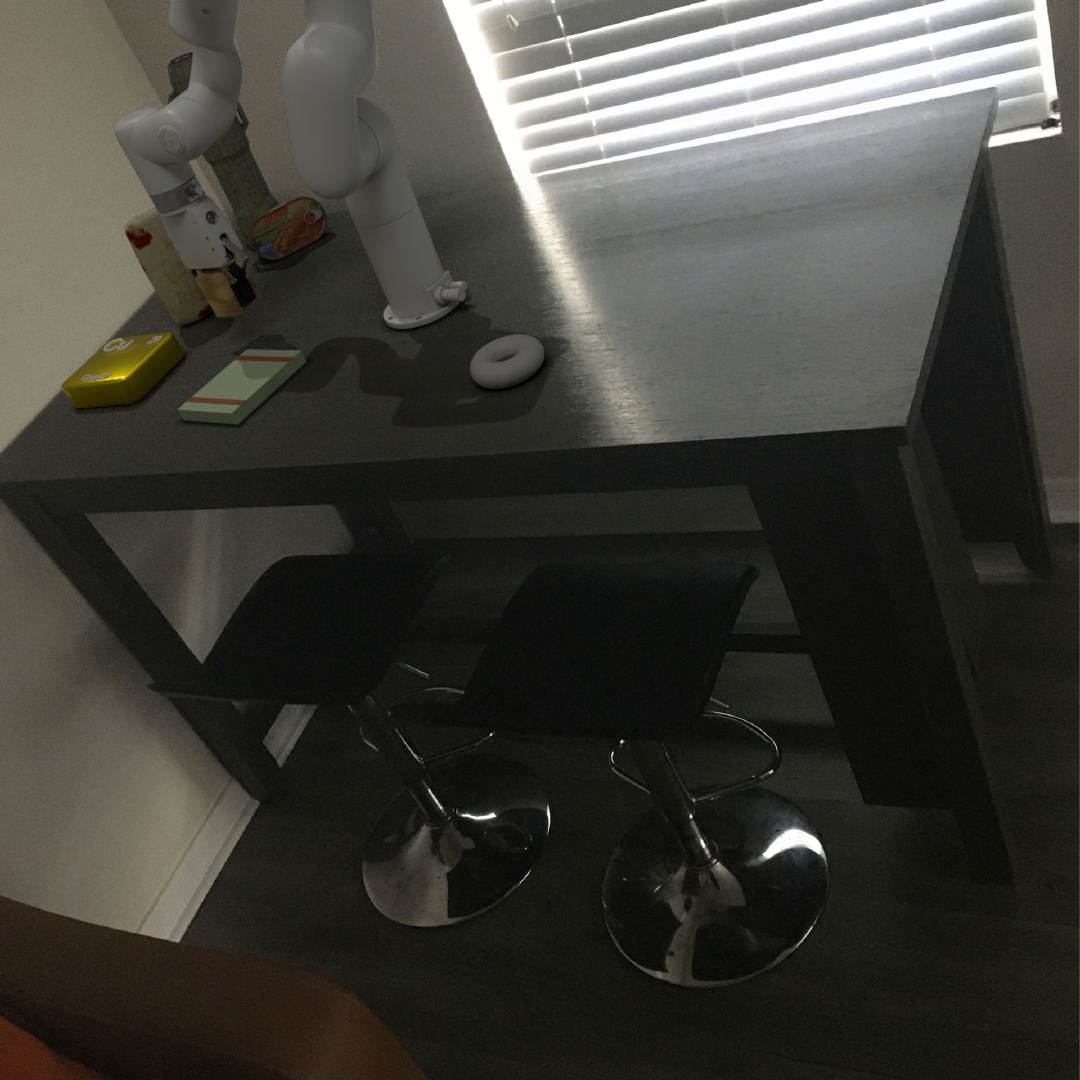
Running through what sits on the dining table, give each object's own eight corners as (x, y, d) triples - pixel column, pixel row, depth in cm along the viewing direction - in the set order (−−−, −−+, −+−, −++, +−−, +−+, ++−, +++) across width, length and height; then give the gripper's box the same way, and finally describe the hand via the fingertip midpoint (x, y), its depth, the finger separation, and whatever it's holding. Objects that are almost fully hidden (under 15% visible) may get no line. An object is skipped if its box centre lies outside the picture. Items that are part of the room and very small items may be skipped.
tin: (264, 268, 199) (243, 226, 194) (259, 264, 202) (238, 222, 197) (334, 231, 203) (315, 189, 198) (329, 228, 205) (310, 186, 200)
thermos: (303, 228, 210) (218, 45, 189) (249, 256, 207) (157, 73, 186) (289, 219, 217) (205, 42, 196) (237, 246, 214) (146, 68, 193)
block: (261, 296, 171) (240, 257, 167) (237, 316, 168) (215, 277, 164) (241, 297, 174) (220, 258, 170) (217, 317, 171) (194, 278, 167)
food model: (183, 334, 186) (122, 227, 174) (171, 325, 191) (111, 221, 179) (232, 306, 189) (175, 199, 177) (219, 299, 194) (162, 194, 182)
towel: (306, 361, 162) (300, 349, 160) (238, 424, 152) (231, 412, 151) (252, 360, 168) (246, 348, 167) (183, 420, 159) (176, 409, 158)
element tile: (70, 410, 175) (53, 385, 172) (124, 359, 185) (109, 335, 182) (138, 404, 169) (121, 378, 166) (190, 352, 179) (175, 327, 176)
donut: (463, 378, 143) (494, 403, 135) (454, 356, 141) (484, 379, 133) (527, 343, 145) (561, 366, 137) (519, 321, 143) (553, 342, 135)
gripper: (232, 178, 157) (288, 288, 168) (160, 188, 167) (217, 292, 178) (198, 203, 153) (258, 314, 164) (126, 212, 163) (187, 316, 173)
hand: (236, 301), depth 171 cm, fingers closed on block, 5 cm apart
